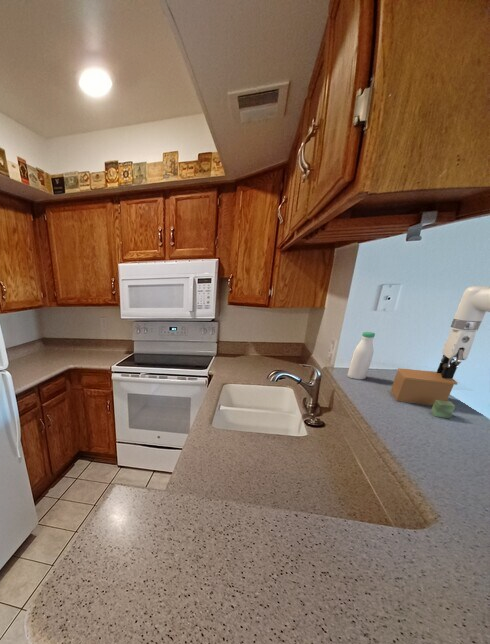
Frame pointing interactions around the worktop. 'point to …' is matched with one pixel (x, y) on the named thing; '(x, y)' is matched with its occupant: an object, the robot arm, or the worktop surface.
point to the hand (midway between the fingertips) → (444, 375)
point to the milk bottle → (362, 357)
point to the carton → (419, 390)
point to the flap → (426, 376)
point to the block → (443, 408)
